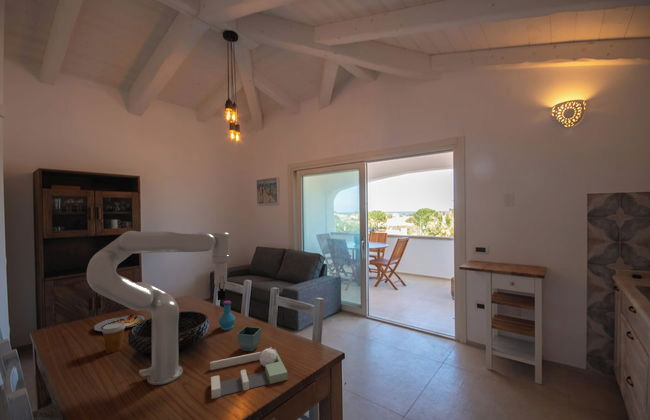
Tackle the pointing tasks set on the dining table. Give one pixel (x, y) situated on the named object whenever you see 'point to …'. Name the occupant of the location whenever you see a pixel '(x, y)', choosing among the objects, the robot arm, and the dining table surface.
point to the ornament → (267, 356)
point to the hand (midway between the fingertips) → (221, 299)
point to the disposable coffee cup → (113, 336)
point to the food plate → (128, 321)
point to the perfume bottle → (227, 317)
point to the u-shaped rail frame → (245, 382)
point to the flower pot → (249, 338)
